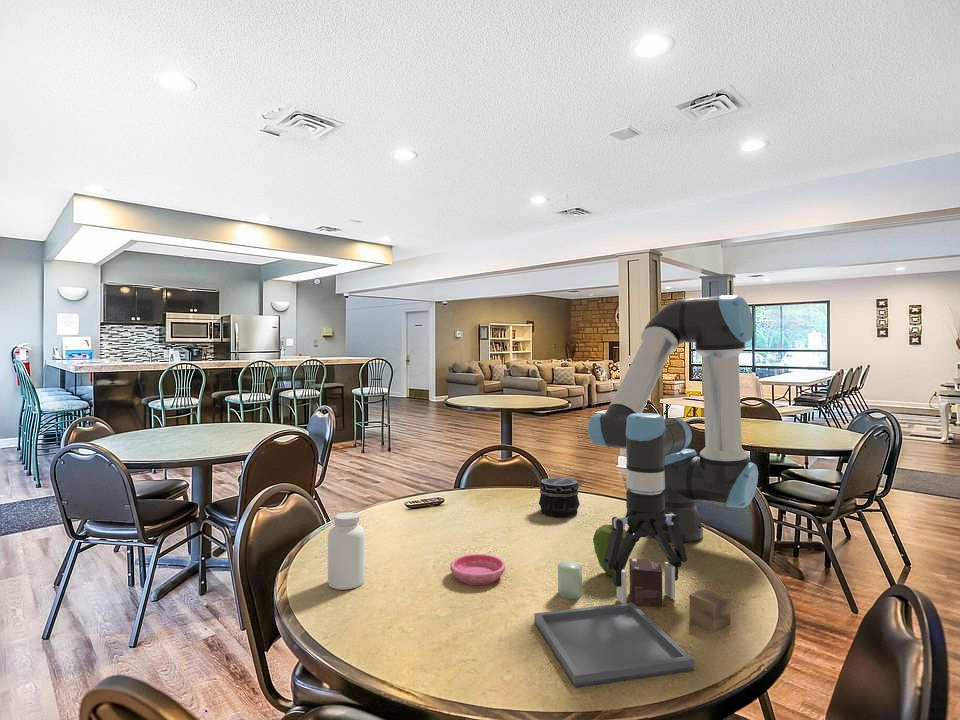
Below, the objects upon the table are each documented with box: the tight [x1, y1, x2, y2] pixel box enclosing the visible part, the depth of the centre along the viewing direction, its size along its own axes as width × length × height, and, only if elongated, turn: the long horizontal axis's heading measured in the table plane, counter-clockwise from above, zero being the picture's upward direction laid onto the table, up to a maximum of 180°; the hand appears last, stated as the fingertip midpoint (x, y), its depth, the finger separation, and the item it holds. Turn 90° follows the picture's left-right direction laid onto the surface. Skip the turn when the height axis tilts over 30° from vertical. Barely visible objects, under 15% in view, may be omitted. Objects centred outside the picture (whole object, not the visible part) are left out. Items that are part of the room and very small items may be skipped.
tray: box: [533, 601, 695, 688], centre depth 93 cm, size 20×20×2 cm
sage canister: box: [557, 560, 583, 600], centre depth 113 cm, size 5×5×6 cm
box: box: [628, 558, 664, 608], centre depth 110 cm, size 6×6×7 cm
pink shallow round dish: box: [449, 553, 506, 586], centre depth 122 cm, size 12×12×3 cm
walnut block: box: [689, 587, 731, 633], centre depth 101 cm, size 5×5×5 cm
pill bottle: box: [327, 511, 366, 590], centre depth 119 cm, size 8×8×15 cm
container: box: [538, 477, 581, 518], centre depth 170 cm, size 13×13×10 cm
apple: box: [592, 524, 629, 577], centre depth 122 cm, size 9×8×12 cm
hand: (645, 598), depth 110 cm, fingers open, 10 cm apart
